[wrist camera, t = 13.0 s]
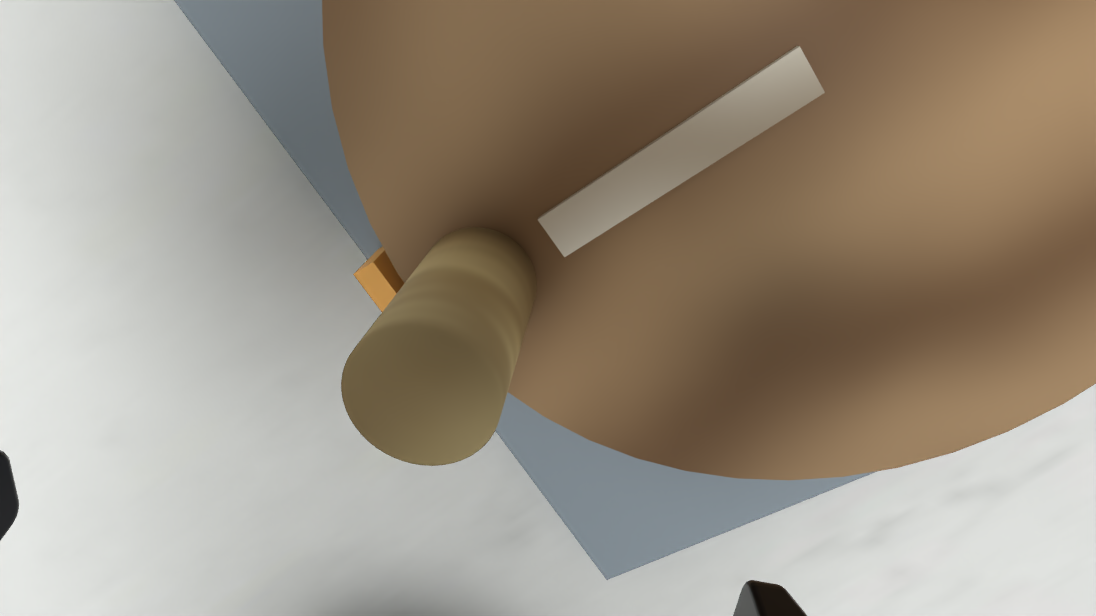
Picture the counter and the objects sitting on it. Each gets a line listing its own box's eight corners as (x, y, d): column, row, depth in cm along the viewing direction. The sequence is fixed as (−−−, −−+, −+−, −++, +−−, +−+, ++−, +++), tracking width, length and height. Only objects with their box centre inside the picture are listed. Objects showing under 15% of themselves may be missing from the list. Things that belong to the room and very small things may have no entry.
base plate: (607, 556, 23) (605, 627, 20) (121, -104, 16) (28, -124, 14) (1432, 216, 16) (1581, 256, 14) (1163, -1087, 10) (1349, -1461, 7)
